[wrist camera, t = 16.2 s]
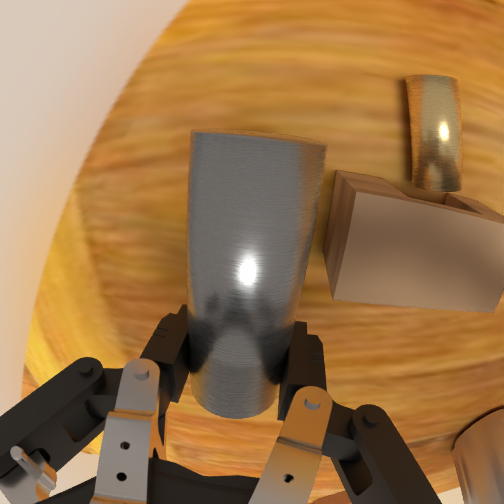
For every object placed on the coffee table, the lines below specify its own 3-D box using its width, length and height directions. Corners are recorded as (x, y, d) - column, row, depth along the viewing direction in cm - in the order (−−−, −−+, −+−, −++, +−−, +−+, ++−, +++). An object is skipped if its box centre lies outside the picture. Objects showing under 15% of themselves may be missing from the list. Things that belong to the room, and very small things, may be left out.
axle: (268, 352, 14) (287, 414, 11) (190, 354, 14) (192, 420, 10) (302, 136, 10) (351, 151, 7) (192, 127, 9) (188, 135, 6)
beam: (457, 269, 18) (493, 312, 13) (322, 251, 18) (332, 299, 13) (477, 201, 15) (525, 230, 11) (336, 169, 16) (356, 191, 11)
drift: (405, 179, 16) (448, 179, 15) (423, 192, 13) (470, 192, 13) (398, 79, 14) (443, 83, 13) (416, 73, 11) (466, 79, 10)
